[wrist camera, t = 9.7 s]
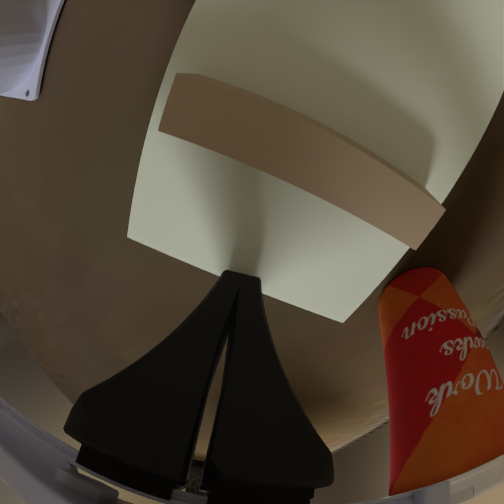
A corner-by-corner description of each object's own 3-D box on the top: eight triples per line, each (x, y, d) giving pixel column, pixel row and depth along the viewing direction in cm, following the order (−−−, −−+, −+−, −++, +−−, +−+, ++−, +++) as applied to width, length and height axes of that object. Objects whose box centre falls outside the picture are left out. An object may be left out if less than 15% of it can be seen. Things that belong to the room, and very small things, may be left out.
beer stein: (235, 472, 72) (225, 530, 52) (182, 462, 73) (168, 517, 53) (236, 467, 62) (223, 534, 42) (173, 454, 64) (156, 519, 44)
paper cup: (476, 268, 14) (550, 448, 3) (421, 337, 19) (449, 496, 7) (396, 237, 14) (474, 503, 3) (342, 323, 18) (348, 524, 7)
